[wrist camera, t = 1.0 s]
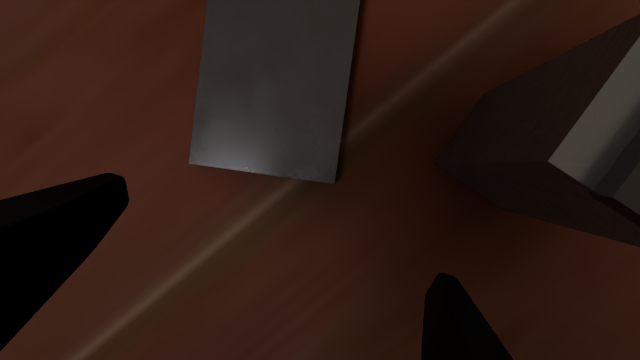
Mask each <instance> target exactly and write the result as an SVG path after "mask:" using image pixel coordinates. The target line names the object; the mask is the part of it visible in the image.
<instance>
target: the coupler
mask: <svg viewBox="0 0 640 360" xmlns="http://www.w3.org/2000/svg"><path fill="white" fill-rule="evenodd" d="M360 1H361V0H208V1H207V9H206V18H205V27H204V36H203V45H202V53H201V62H200V71H199V80H198V89H197V97H196V106H195V115H194V124H193V132H192V141H191V150H190V159H189V164H196V165H203V166H210V167H217V168H225V169H232V170H239V171H246V172H253V173H260V174H267V175H274V176H281V177H288V178H295V179H302V180H309V181H316V182H323V183H330V184H335V180H336V172H337V165H338V158H339V151H340V144H341V137H342V130H343V122H344V115H345V108H346V101H347V94H348V87H349V80H350V72H351V65H352V58H353V51H354V44H355V37H356V29H357V22H358V15H359V8H360Z"/></svg>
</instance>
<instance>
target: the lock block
mask: <svg viewBox="0 0 640 360" xmlns="http://www.w3.org/2000/svg"><path fill="white" fill-rule="evenodd" d="M435 165H437V166H438V167H440V168H441V169H443V170H444V171H446V172H447V173H449V174H450V175H452V176H453V177H455V178H456V179H458V180H459V181H461V182H462V183H464V184H466V185H467V186H469V187H470V188H472V189H473V190H475V191H476V192H478V193H479V194H481V195H482V196H484V197H485V198H487V199H488V200H490V201H491V202H493V203H494V204H496V205H497V206H499V207H500V208H502V209H503V210H507V211H510V212H514V213H518V214H521V215H525V216H529V217H532V218H536V219H539V220H543V221H547V222H550V223H554V224H558V225H561V226H565V227H568V228H572V229H576V230H579V231H583V232H587V233H590V234H594V235H597V236H601V237H605V238H608V239H612V240H616V241H619V242H623V243H626V244H630V245H634V246H637V247H640V14H638V15H636V16H634V17H632V18H630V19H628V20H626V21H625V22H623V23H621V24H619V25H617V26H615V27H613V28H611V29H609V30H607V31H605V32H603V33H601V34H599V35H598V36H596V37H594V38H592V39H590V40H588V41H586V42H584V43H582V44H580V45H578V46H576V47H574V48H572V49H570V50H569V51H567V52H565V53H563V54H561V55H559V56H557V57H555V58H553V59H551V60H549V61H547V62H545V63H543V64H542V65H540V66H538V67H536V68H534V69H532V70H530V71H528V72H526V73H524V74H522V75H520V76H518V77H516V78H514V79H513V80H511V81H509V82H507V83H505V84H503V85H501V86H499V87H497V88H495V89H493V90H491V91H489V92H487V93H486V94H484V95H482V97H481V98H480V100H479V101H478V102H477V104H476V105H475V107H474V108H473V110H472V111H471V112H470V114H469V115H468V117H467V118H466V119H465V121H464V122H463V124H462V125H461V127H460V128H459V129H458V131H457V132H456V134H455V135H454V137H453V138H452V139H451V141H450V142H449V144H448V145H447V147H446V148H445V149H444V151H443V152H442V154H441V155H440V156H439V158H438V159H437V161H436V162H435Z"/></svg>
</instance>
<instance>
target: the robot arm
mask: <svg viewBox="0 0 640 360" xmlns="http://www.w3.org/2000/svg"><path fill="white" fill-rule="evenodd" d="M128 202H129V196H128V191H127V186H126V181H125V179H124V177H122V176H119V175H116V174H113V173H104V174H100V175H96V176H93V177H89V178H85V179H81V180H77V181H73V182H69V183H65V184H61V185H57V186H53V187H49V188H46V189H42V190H38V191H34V192H30V193H26V194H22V195H18V196H14V197H10V198H6V199H3V200H0V351H1V350H2V349H3V348H4V347H5V346H6V345H7V343H8V342H9V341H10V340H11V339H12V338H13V337H14V336H15V335H16V334H17V333H18V332H19V331H20V329H21V328H22V327H23V326H24V325H25V324H26V323H27V322H28V321H29V320H30V319H31V318H32V317H33V315H34V314H35V313H36V312H37V311H38V310H39V309H40V308H41V307H42V306H43V305H44V304H45V302H46V301H47V300H48V299H49V298H50V297H51V296H52V295H53V294H54V293H55V292H56V291H57V290H58V288H59V287H60V286H61V285H62V284H63V283H64V282H65V281H66V280H67V279H68V278H69V277H70V275H71V274H72V273H73V272H74V271H75V270H76V269H77V268H78V267H79V266H80V265H81V264H82V263H83V261H84V260H85V259H86V258H87V257H88V256H89V255H90V254H91V253H92V251H93V250H94V249H95V248H96V247H97V245H98V244H99V243H100V242H101V240H102V239H103V238H104V236H105V235H106V234H107V232H108V231H109V230H110V228H111V227H112V226H113V224H114V223H115V222H116V220H117V219H118V218H119V216H120V215H121V214H122V213H123V211H124V210H125V209H126V207H127V205H128ZM421 360H513V358H512V357H511V355H510V354H509V353H508V351H507V350H506V348H505V347H504V345H503V344H502V343H501V341H500V340H499V338H498V337H497V335H496V334H495V332H494V331H493V330H492V328H491V327H490V325H489V324H488V322H487V321H486V320H485V318H484V317H483V315H482V314H481V312H480V311H479V309H478V308H477V307H476V305H475V304H474V302H473V301H472V299H471V298H470V296H469V295H468V294H467V292H466V291H465V289H464V288H463V286H462V285H461V284H460V282H459V281H458V279H457V278H456V277H454V276H451V275H448V274H445V273H439V274H438V275H437V276H436V278H435V279H434V281H433V282H432V284H431V285H430V287H429V289H428V290H427V292H426V296H425V304H424V320H423V335H422V352H421Z"/></svg>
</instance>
